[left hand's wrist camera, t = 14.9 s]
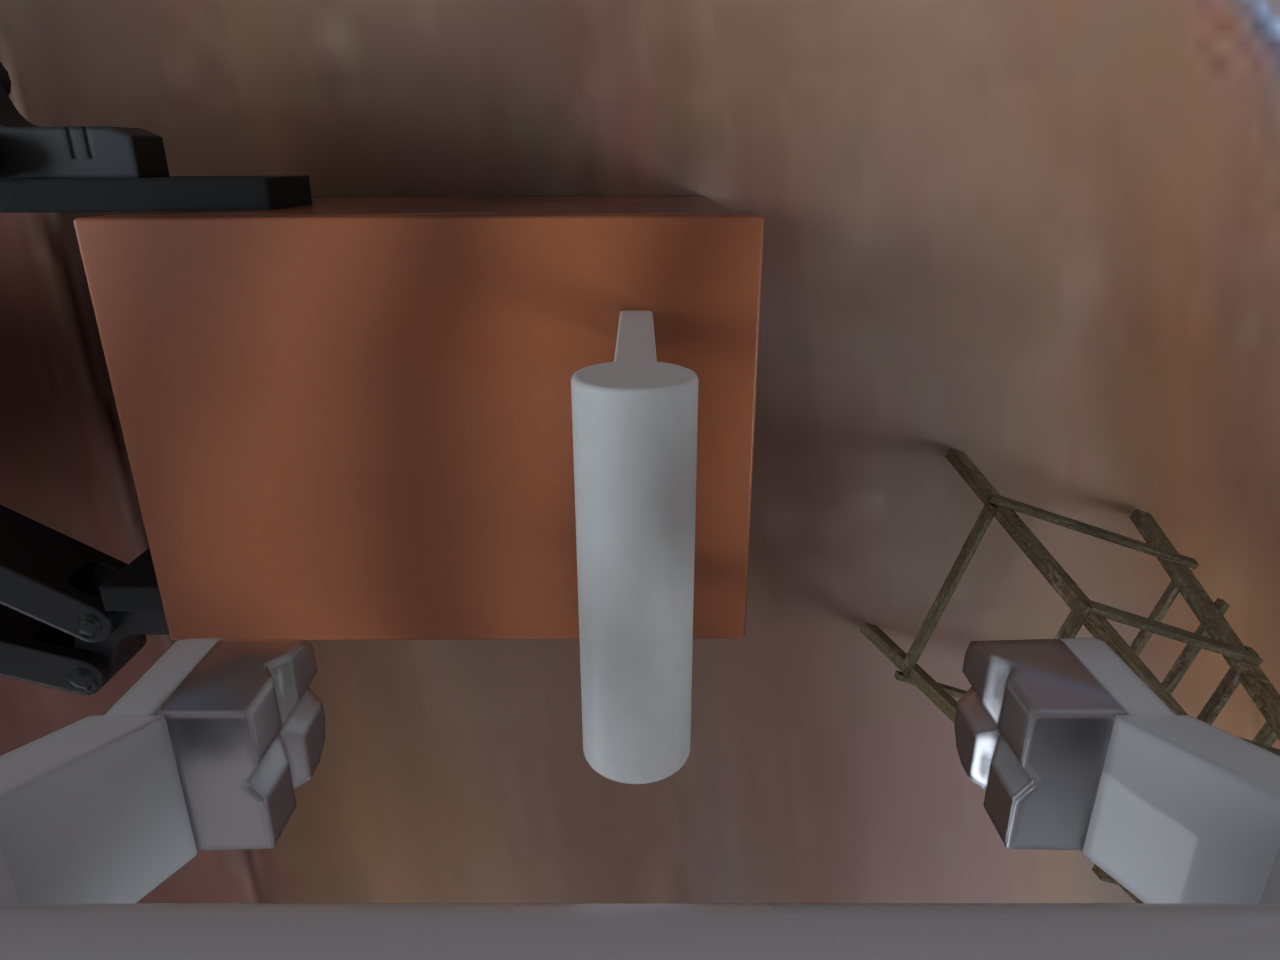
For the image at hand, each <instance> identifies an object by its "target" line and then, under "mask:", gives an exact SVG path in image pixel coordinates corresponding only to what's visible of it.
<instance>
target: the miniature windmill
mask: <svg viewBox="0 0 1280 960" xmlns="http://www.w3.org/2000/svg"><path fill="white" fill-rule="evenodd" d="M945 457H946V458H947V459H948V461H949V462H950V463H951V464H952V466H953V467H954V468H955V469H956V470H957V472H958V473H959V474H960V475H961V476H962V478H963V479H964V480H965V481H966V482H967V484H968V485H969V486H970V487H971V489H972V490H973V491H974V492H975V493H976V495H977V496H978V497H979V498H980V499H981V501H982V502H983V503H984V504H985V506H984V508H983V509H982V511H981V513H980V515H979V517H978V519H977V521H976V523H975V525H974V527H973V529H972V531H971V533H970V534H969V536H968V538H967V540H966V542H965V544H964V546H963V548H962V550H961V552H960V554H959V556H958V558H957V559H956V561H955V563H954V565H953V567H952V569H951V571H950V573H949V575H948V577H947V579H946V581H945V583H944V584H943V586H942V588H941V590H940V592H939V594H938V596H937V598H936V600H935V602H934V604H933V606H932V608H931V609H930V611H929V613H928V615H927V617H926V619H925V621H924V623H923V625H922V627H921V629H920V631H919V633H918V634H917V636H916V638H915V640H914V642H913V644H912V646H911V648H910V650H909V652H908V654H906V653H905V652H904V651H903V650H902V649H901V648H900V647H899V646H897V645H896V644H895V643H894V642H893V641H892V640H891V639H890V638H889V637H888V636H887V635H886V634H885V633H884V632H883V631H882V630H881V629H879V628H878V627H877V626H876V625H872V624H869V623H865V622H864V623H863V626H862V628H861V630H860V631H861V632H862V633H863V634H864V635H865V636H866V637H867V638H868V639H869V640H870V641H871V642H872V643H873V644H874V645H875V646H876V647H877V648H878V649H879V650H880V651H881V652H882V653H883V654H884V655H885V656H886V657H887V658H888V659H889V660H890V661H891V662H893V663H894V664H895V665H896V666H897V667H898V668H899V669H900V670H901V671H902V672H900V671H896V673H895V677H896V680H900V681H903V682H906V683H910V684H913V685H916V686H917V687H918V688H919V689H920V690H921V691H922V692H923V693H924V694H925V695H926V696H927V697H928V698H929V699H930V700H931V701H932V702H933V703H934V704H935V705H936V706H937V707H938V708H939V709H940V710H941V711H942V712H943V713H944V714H945V715H946V716H947V717H948V718H949V719H951V720H952V721H953V722H954V723H955V717H956V709H957V701H956V700H955V699H954V698H953V697H952V696H954V697H957V698H961V697H962V696H963V695H964V694H965V693H966V692H967V691H964V690H961V689H957V688H954V687H951V686H947V685H944V684H940V683H937V682H936V681H935V680H933V679H932V678H931V677H930V676H929V675H928V674H927V673H926V672H925V671H924V670H923V669H922V668H921V667H920V666H919V665H918V664H917V661H918V659H919V657H920V655H921V653H922V651H923V649H924V647H925V646H926V644H927V642H928V640H929V638H930V636H931V634H932V632H933V630H934V628H935V627H936V625H937V623H938V621H939V619H940V617H941V615H942V613H943V611H944V609H945V608H946V606H947V604H948V602H949V600H950V598H951V596H952V594H953V592H954V590H955V589H956V587H957V585H958V583H959V581H960V579H961V577H962V575H963V573H964V572H965V570H966V568H967V566H968V564H969V562H970V560H971V558H972V556H973V554H974V553H975V551H976V549H977V547H978V545H979V543H980V541H981V539H982V537H983V535H984V534H985V532H986V530H987V528H988V526H989V524H990V522H991V520H992V518H993V516H995V518H996V519H997V520H998V521H999V523H1000V524H1001V525H1002V526H1003V527H1004V529H1005V530H1006V531H1007V532H1008V533H1009V535H1010V536H1011V537H1012V538H1013V540H1014V541H1015V542H1016V543H1017V544H1018V546H1019V547H1020V548H1021V549H1022V550H1023V552H1024V553H1025V554H1026V555H1027V557H1028V558H1029V559H1030V560H1031V561H1032V563H1033V564H1034V565H1035V566H1036V567H1037V569H1038V570H1039V571H1040V572H1041V574H1042V575H1043V576H1044V577H1045V578H1046V580H1047V581H1048V582H1049V583H1050V584H1051V586H1052V587H1053V588H1054V589H1055V590H1056V592H1057V593H1058V594H1059V595H1060V597H1061V598H1062V599H1063V600H1064V601H1065V603H1066V604H1067V605H1068V606H1069V607H1070V609H1071V612H1070V613H1069V615H1068V617H1067V619H1066V620H1065V622H1064V624H1063V625H1062V627H1061V629H1060V630H1059V632H1058V634H1057V636H1056V637H1055V639H1068V638H1075V636H1076V635H1077V633H1078V631H1079V630H1080V628H1081V626H1082V625H1083V624H1084V626H1085V627H1086V628H1087V629H1088V631H1089V632H1090V633H1091V634H1092V635H1093V637H1094V638H1096V639H1099V640H1101V641H1104V642H1105V643H1106V644H1107V645H1108V646H1109V647H1110V648H1111V649H1112V650H1113V651H1114V652H1115V653H1116V654H1117V655H1118V656H1119V657H1120V658H1121V659H1122V660H1123V661H1124V662H1125V663H1126V664H1127V665H1128V667H1129V668H1130V669H1131V670H1132V671H1133V672H1134V673H1135V674H1136V675H1137V676H1138V677H1139V678H1140V679H1141V680H1142V681H1143V682H1144V683H1145V684H1146V685H1147V686H1148V687H1149V688H1150V689H1151V690H1152V691H1153V692H1154V693H1155V694H1156V695H1157V696H1158V697H1159V698H1160V699H1161V700H1162V701H1163V702H1164V703H1165V704H1166V705H1167V707H1168V708H1169V709H1170V710H1171V711H1172V712H1173V713H1174V714H1175V715H1187V713H1186V712H1185V711H1184V710H1183V709H1182V708H1181V706H1180V705H1179V704H1178V703H1177V702H1176V700H1175V699H1174V698H1173V697H1172V696H1171V693H1172V692H1173V690H1174V689H1175V687H1176V686H1177V684H1178V683H1179V681H1180V680H1181V678H1182V677H1183V675H1184V674H1185V672H1186V671H1187V669H1188V668H1189V666H1190V665H1191V663H1192V662H1193V660H1194V659H1195V657H1196V656H1197V654H1198V653H1199V651H1200V650H1201V648H1203V649H1206V650H1209V651H1213V652H1216V653H1219V654H1222V655H1223V657H1224V658H1225V660H1226V661H1227V663H1228V664H1229V666H1230V667H1231V668H1230V669H1229V671H1228V672H1227V674H1226V675H1225V677H1224V678H1223V680H1222V681H1221V683H1220V684H1219V686H1218V687H1217V689H1216V690H1215V692H1214V693H1213V695H1212V696H1211V698H1210V699H1209V701H1208V702H1207V704H1206V705H1205V707H1204V708H1203V710H1202V711H1201V713H1200V714H1199V716H1198V717H1197V719H1199V720H1201V721H1203V722H1205V723H1208V724H1210V725H1211V724H1212V723H1213V721H1214V720H1215V719H1216V717H1217V716H1218V714H1219V713H1220V711H1221V710H1222V708H1223V707H1224V705H1225V704H1226V702H1227V701H1228V699H1229V698H1230V696H1231V695H1232V693H1233V692H1234V691H1235V689H1236V688H1237V686H1238V685H1239V683H1240V682H1241V684H1242V685H1243V687H1244V688H1245V689H1246V691H1247V692H1248V694H1249V695H1250V697H1251V698H1252V700H1253V701H1254V703H1255V704H1256V706H1257V707H1258V709H1259V710H1260V712H1261V713H1262V715H1263V716H1264V718H1265V719H1266V723H1265V724H1264V725H1263V727H1262V728H1261V730H1260V731H1259V733H1258V734H1257V735H1256V737H1255V738H1254V740H1253V741H1249V740H1246V739H1243V738H1241V739H1243V740H1245V741H1247V742H1250V743H1252V744H1254V745H1256V746H1258V747H1261V748H1263V749H1265V750H1267V751H1270V752H1272V753H1274V754H1276V755H1278V756H1280V750H1279V749H1276V748H1273V747H1271V746H1272V745H1273V743H1274V742H1275V740H1276V739H1277V738H1278V739H1279V740H1280V695H1279V694H1278V692H1277V691H1276V690H1275V688H1274V687H1273V685H1272V684H1271V683H1270V681H1269V680H1268V678H1267V677H1266V675H1265V674H1264V673H1263V671H1262V670H1261V668H1260V667H1259V665H1260V664H1261V663H1262V661H1263V660H1262V659H1261V658H1260V657H1259V656H1258V654H1257V653H1256V652H1255V651H1254V650H1253V649H1252V648H1250V647H1247V646H1244V645H1243V643H1242V642H1241V640H1240V639H1239V638H1238V636H1237V635H1236V633H1235V632H1234V631H1233V629H1232V628H1231V626H1230V625H1229V624H1228V622H1227V621H1226V619H1225V618H1224V617H1223V615H1224V613H1225V612H1226V610H1227V609H1228V607H1229V605H1228V604H1227V603H1226V602H1225V601H1224V600H1222V599H1219V598H1217V600H1216V601H1215V603H1213V601H1212V600H1211V598H1210V597H1209V596H1208V594H1207V593H1206V591H1205V590H1204V588H1203V587H1202V586H1201V584H1200V583H1199V581H1198V580H1197V579H1196V577H1195V576H1194V574H1193V573H1192V570H1190V569H1189V567H1190V568H1193V569H1195V568H1196V567H1197V566H1198V563H1197V562H1196V560H1195V559H1192V558H1189V557H1186V556H1183V555H1180V554H1179V553H1178V552H1177V551H1176V549H1175V548H1174V546H1173V545H1172V544H1171V542H1170V541H1169V539H1168V538H1167V537H1166V535H1165V534H1164V532H1163V531H1162V530H1161V528H1160V527H1159V525H1158V524H1157V523H1156V521H1155V520H1154V518H1153V517H1152V516H1151V514H1150V513H1146V512H1143V511H1140V510H1137V509H1135V510H1134V511H1133V513H1132V514H1131V516H1130V519H1131V520H1132V522H1133V523H1134V525H1135V526H1136V528H1137V529H1138V530H1139V532H1140V533H1141V535H1142V536H1143V538H1144V539H1145V541H1146V542H1147V544H1146V543H1143V542H1140V541H1137V540H1134V539H1131V538H1128V537H1125V536H1122V535H1119V534H1116V533H1113V532H1110V531H1107V530H1104V529H1100V528H1097V527H1094V526H1091V525H1088V524H1085V523H1082V522H1079V521H1076V520H1073V519H1070V518H1067V517H1064V516H1061V515H1058V514H1054V513H1051V512H1048V511H1045V510H1042V509H1039V508H1036V507H1033V506H1030V505H1027V504H1024V503H1021V502H1018V501H1015V500H1012V499H1008V498H1005V497H1002V496H1001V495H1000V494H999V493H998V492H997V491H996V490H995V488H994V487H993V486H992V485H991V484H990V482H989V481H988V480H987V479H986V478H985V477H984V475H983V474H982V473H981V472H980V471H979V470H978V468H977V467H976V466H975V465H974V464H973V463H972V461H971V460H970V459H969V458H968V457H967V456H966V454H965V453H964V452H962V451H959V450H956V449H953V448H950V450H949V451H948V453H947V454H946V456H945ZM1013 510H1014V511H1018V512H1021V513H1024V514H1027V515H1030V516H1033V517H1036V518H1039V519H1042V520H1045V521H1048V522H1051V523H1055V524H1058V525H1061V526H1064V527H1067V528H1070V529H1073V530H1076V531H1079V532H1082V533H1085V534H1088V535H1091V536H1095V537H1098V538H1101V539H1104V540H1107V541H1110V542H1113V543H1116V544H1119V545H1122V546H1125V547H1128V548H1132V549H1135V550H1138V551H1141V552H1144V553H1147V554H1150V555H1153V556H1156V557H1157V559H1158V560H1159V562H1160V563H1161V565H1162V566H1163V568H1164V569H1165V571H1166V572H1167V574H1168V575H1169V577H1170V578H1171V580H1172V581H1171V582H1170V584H1169V586H1168V587H1167V589H1166V590H1165V592H1164V594H1163V595H1162V597H1161V598H1160V600H1159V601H1158V603H1157V605H1156V606H1155V608H1154V609H1153V611H1152V613H1151V614H1150V616H1149V617H1148V618H1145V617H1142V616H1138V615H1135V614H1132V613H1129V612H1126V611H1123V610H1119V609H1116V608H1113V607H1110V606H1107V605H1103V604H1100V603H1097V602H1094V601H1091V600H1089V599H1088V597H1087V596H1086V595H1085V594H1084V593H1083V591H1082V590H1081V589H1080V588H1079V587H1078V586H1077V584H1076V583H1075V582H1074V581H1073V580H1072V579H1071V577H1070V576H1069V575H1068V574H1067V573H1066V572H1065V570H1064V569H1063V568H1062V567H1061V566H1060V565H1059V563H1058V562H1057V561H1056V560H1055V559H1054V557H1053V556H1052V555H1051V554H1050V553H1049V552H1048V550H1047V549H1046V548H1045V547H1044V546H1043V545H1042V543H1041V542H1040V541H1039V540H1038V539H1037V538H1036V536H1035V535H1034V534H1033V533H1032V532H1031V531H1030V529H1029V528H1028V527H1027V526H1026V525H1025V524H1024V522H1023V521H1022V520H1021V519H1020V518H1019V516H1018V515H1017V514H1016V513H1015V512H1014V511H1013ZM1179 591H1180V593H1181V594H1182V596H1183V597H1184V599H1185V600H1186V602H1187V603H1188V605H1189V606H1190V608H1191V609H1192V611H1193V612H1194V614H1195V615H1196V617H1197V618H1198V620H1199V621H1200V623H1201V624H1200V626H1199V627H1198V629H1197V630H1196V632H1195V633H1192V632H1189V631H1186V630H1183V629H1180V628H1177V627H1173V626H1170V625H1167V624H1164V623H1161V622H1160V621H1161V620H1162V618H1163V616H1164V615H1165V613H1166V612H1167V610H1168V609H1169V607H1170V605H1171V604H1172V602H1173V601H1174V599H1175V598H1176V596H1177V594H1178V593H1179ZM1106 618H1107V619H1110V620H1113V621H1117V622H1120V623H1123V624H1126V625H1129V626H1133V627H1136V628H1139V629H1141V630H1140V632H1139V633H1138V635H1137V637H1136V638H1135V640H1134V641H1133V643H1132V644H1131V646H1130V647H1129V645H1128V644H1127V643H1126V642H1125V641H1124V640H1123V638H1122V637H1121V636H1120V635H1119V634H1118V633H1117V631H1116V630H1115V629H1114V628H1113V627H1112V625H1111V624H1110V623H1109V622H1108V621H1107V620H1106ZM1153 633H1155V634H1158V635H1161V636H1165V637H1168V638H1171V639H1174V640H1177V641H1181V642H1184V643H1187V645H1186V647H1185V648H1184V650H1183V652H1182V653H1181V655H1180V656H1179V658H1178V659H1177V661H1176V662H1175V664H1174V665H1173V667H1172V668H1171V670H1170V671H1169V673H1168V674H1167V676H1166V677H1165V679H1164V681H1163V682H1162V684H1161V683H1160V682H1159V681H1158V679H1157V678H1156V677H1155V676H1154V675H1153V674H1152V672H1151V671H1150V670H1149V669H1148V668H1147V667H1146V665H1145V664H1144V663H1143V662H1142V661H1141V659H1140V658H1139V657H1138V656H1139V654H1140V653H1141V651H1142V649H1143V648H1144V646H1145V645H1146V643H1147V642H1148V640H1149V638H1150V637H1151V635H1152V634H1153ZM1209 636H1210V637H1211V638H1209ZM950 695H951V696H950ZM1092 870H1093V871H1094V873H1095V874H1096V875H1097V876H1098V877H1099V878H1100V879H1101V880H1102V881H1106V882H1109V883H1113V884H1117V885H1119V886H1120V887H1121V888H1122V889H1123V890H1124V891H1126V892H1127V893H1128V894H1129V895H1130V896H1131V897H1132V898H1133V899H1134V900H1135V901H1136V902H1137V903H1144V902H1142V901H1141V900H1140V899H1139V898H1137V897H1136V896H1135V895H1133V894H1132V893H1131V892H1130V891H1128V890H1127V889H1126V888H1125V887H1123V886H1122V885H1121V884H1120V883H1118V882H1117V881H1116V880H1115V879H1113V878H1112V877H1111V876H1110V875H1108V874H1107V873H1106V872H1104V871H1103V870H1102V869H1101V868H1099V867H1098V866H1097V865H1096V864H1095V865H1094V867H1093V869H1092Z"/></svg>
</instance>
